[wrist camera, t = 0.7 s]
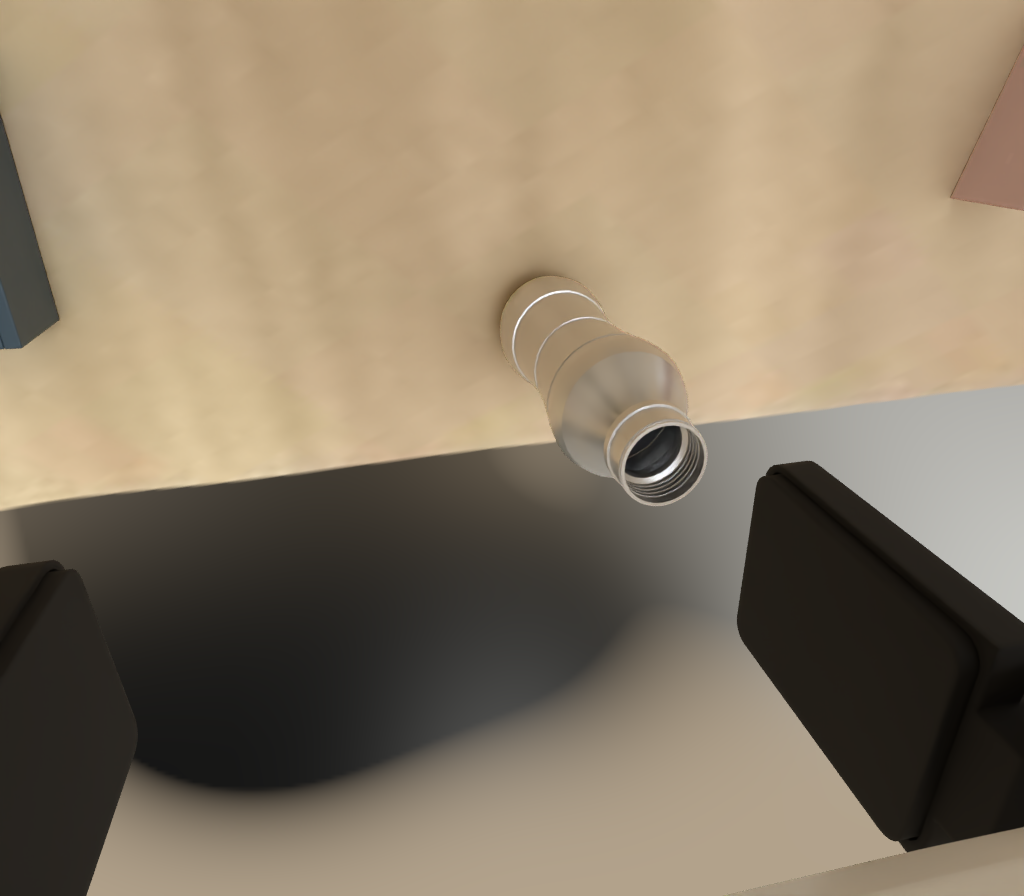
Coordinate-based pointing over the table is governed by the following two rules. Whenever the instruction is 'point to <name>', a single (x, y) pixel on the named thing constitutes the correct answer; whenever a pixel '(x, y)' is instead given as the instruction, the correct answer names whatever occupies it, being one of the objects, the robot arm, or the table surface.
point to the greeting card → (999, 151)
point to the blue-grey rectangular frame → (20, 264)
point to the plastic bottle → (604, 391)
